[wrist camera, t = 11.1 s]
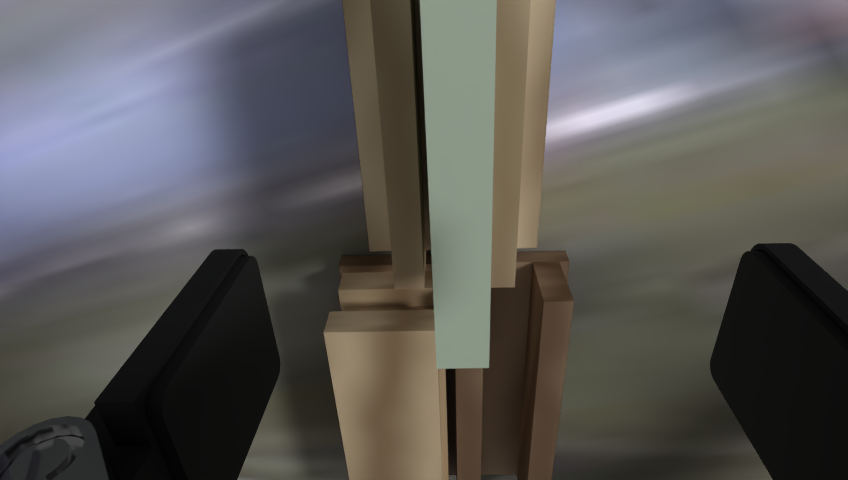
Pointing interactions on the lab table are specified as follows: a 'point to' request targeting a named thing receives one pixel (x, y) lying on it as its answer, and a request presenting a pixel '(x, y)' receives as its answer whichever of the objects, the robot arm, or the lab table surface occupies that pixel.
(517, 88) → the cradle
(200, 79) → the lab table surface
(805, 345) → the robot arm
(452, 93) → the tall sheet
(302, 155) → the lab table surface
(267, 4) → the lab table surface
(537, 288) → the rack
